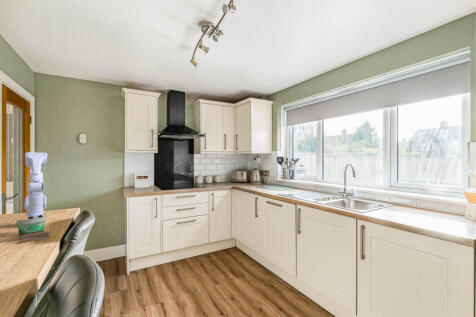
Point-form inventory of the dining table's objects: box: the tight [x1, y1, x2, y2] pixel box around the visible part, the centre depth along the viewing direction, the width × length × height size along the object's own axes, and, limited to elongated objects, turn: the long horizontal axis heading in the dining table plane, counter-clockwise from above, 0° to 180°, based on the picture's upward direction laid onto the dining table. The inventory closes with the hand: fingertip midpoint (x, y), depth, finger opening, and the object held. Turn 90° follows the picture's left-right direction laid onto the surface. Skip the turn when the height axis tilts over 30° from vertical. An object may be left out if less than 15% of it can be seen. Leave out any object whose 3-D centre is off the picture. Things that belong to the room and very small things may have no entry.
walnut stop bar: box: [20, 230, 50, 244], centre depth 110 cm, size 3×10×3 cm, turn 132°
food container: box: [15, 214, 48, 241], centre depth 114 cm, size 12×6×10 cm, turn 154°
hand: (35, 229), depth 120 cm, fingers closed
